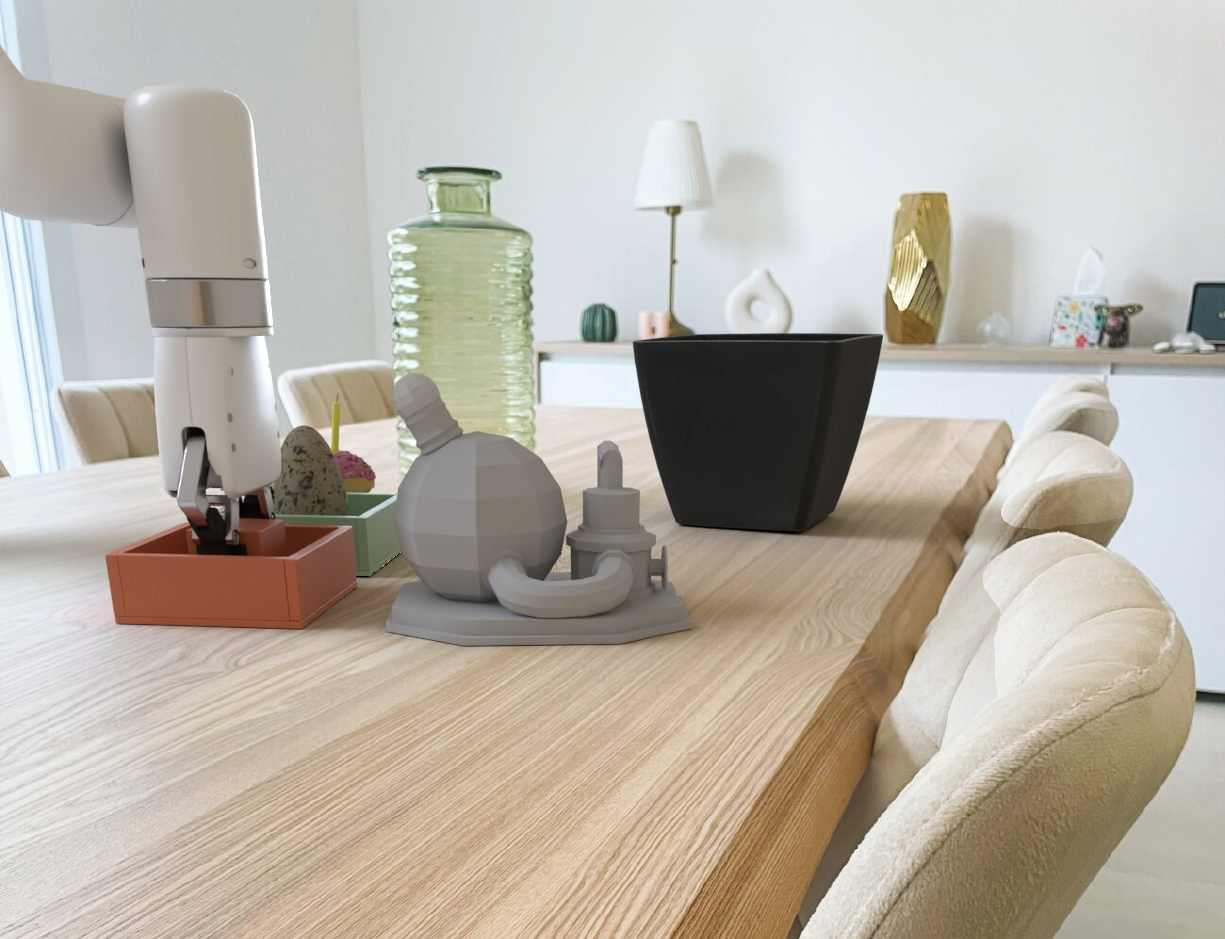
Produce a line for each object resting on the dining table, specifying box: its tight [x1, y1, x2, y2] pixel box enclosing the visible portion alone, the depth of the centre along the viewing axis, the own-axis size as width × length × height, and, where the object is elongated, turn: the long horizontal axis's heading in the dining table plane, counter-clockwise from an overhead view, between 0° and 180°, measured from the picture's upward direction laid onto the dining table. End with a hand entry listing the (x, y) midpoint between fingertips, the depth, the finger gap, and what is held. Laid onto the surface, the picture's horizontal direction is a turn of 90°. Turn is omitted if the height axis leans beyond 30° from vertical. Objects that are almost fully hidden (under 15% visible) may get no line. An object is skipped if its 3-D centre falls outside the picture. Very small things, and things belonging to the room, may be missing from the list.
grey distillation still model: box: [384, 372, 693, 647], centre depth 80 cm, size 20×15×15 cm
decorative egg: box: [273, 424, 348, 516], centre depth 98 cm, size 6×6×10 cm
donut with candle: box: [330, 392, 377, 493], centre depth 111 cm, size 9×8×12 cm
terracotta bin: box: [104, 521, 358, 630], centre depth 85 cm, size 13×13×4 cm
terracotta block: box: [186, 518, 288, 558], centre depth 84 cm, size 5×5×5 cm
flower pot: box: [632, 332, 884, 532], centre depth 116 cm, size 19×19×17 cm
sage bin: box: [217, 492, 401, 577], centre depth 99 cm, size 13×13×4 cm
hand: (243, 591), depth 85 cm, fingers closed on terracotta block, 5 cm apart
